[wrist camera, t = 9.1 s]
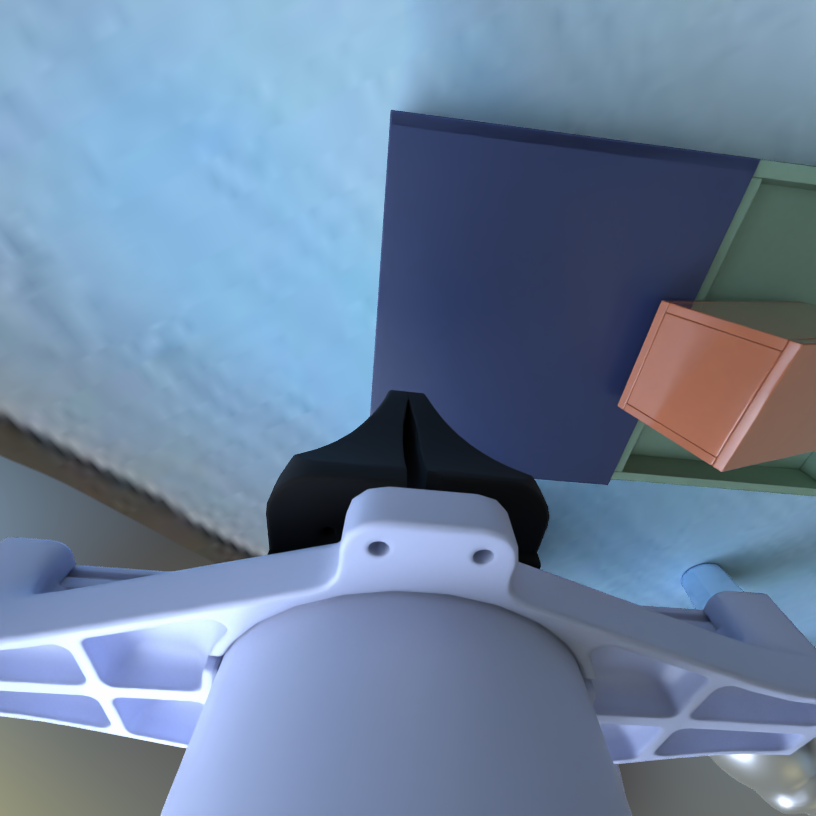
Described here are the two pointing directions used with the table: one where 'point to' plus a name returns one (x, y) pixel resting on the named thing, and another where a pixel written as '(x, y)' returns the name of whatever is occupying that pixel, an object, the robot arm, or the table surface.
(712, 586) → the milkshake
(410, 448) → the robot arm
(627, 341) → the book
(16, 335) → the table surface
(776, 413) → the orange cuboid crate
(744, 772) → the ghost figurine
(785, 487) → the tray
